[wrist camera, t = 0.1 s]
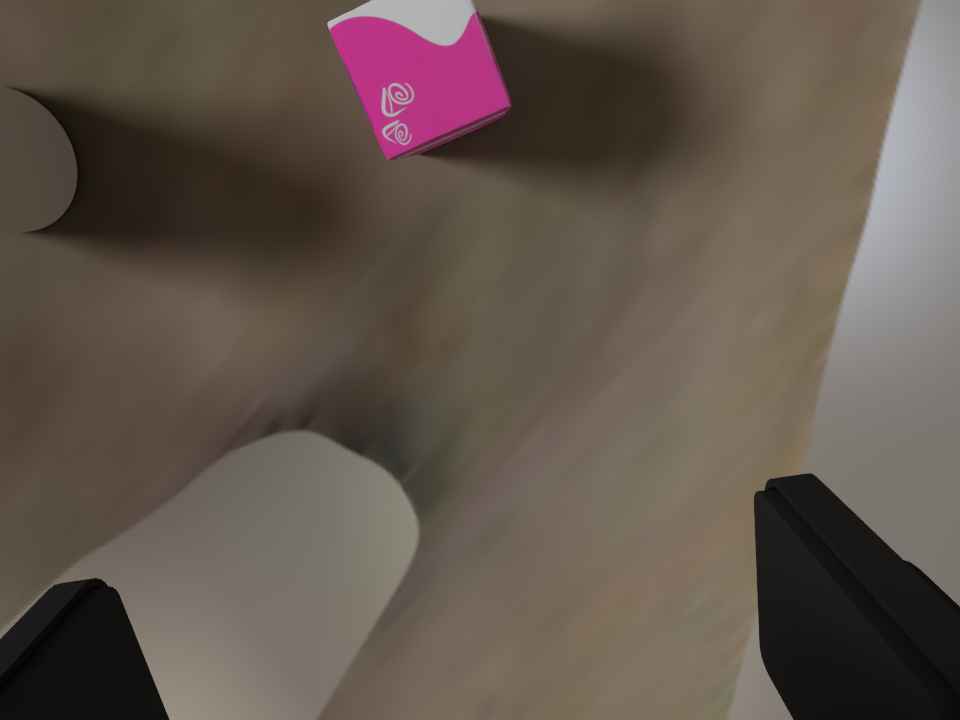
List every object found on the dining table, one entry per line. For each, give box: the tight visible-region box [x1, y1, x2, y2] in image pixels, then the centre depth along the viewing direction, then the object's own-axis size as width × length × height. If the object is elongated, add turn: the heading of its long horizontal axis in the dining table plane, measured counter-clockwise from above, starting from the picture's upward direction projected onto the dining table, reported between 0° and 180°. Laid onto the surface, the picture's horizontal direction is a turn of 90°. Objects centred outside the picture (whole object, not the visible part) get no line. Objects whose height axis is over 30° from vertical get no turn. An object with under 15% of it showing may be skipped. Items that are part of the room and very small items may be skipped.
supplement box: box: [328, 0, 511, 160], centre depth 31 cm, size 6×6×12 cm
